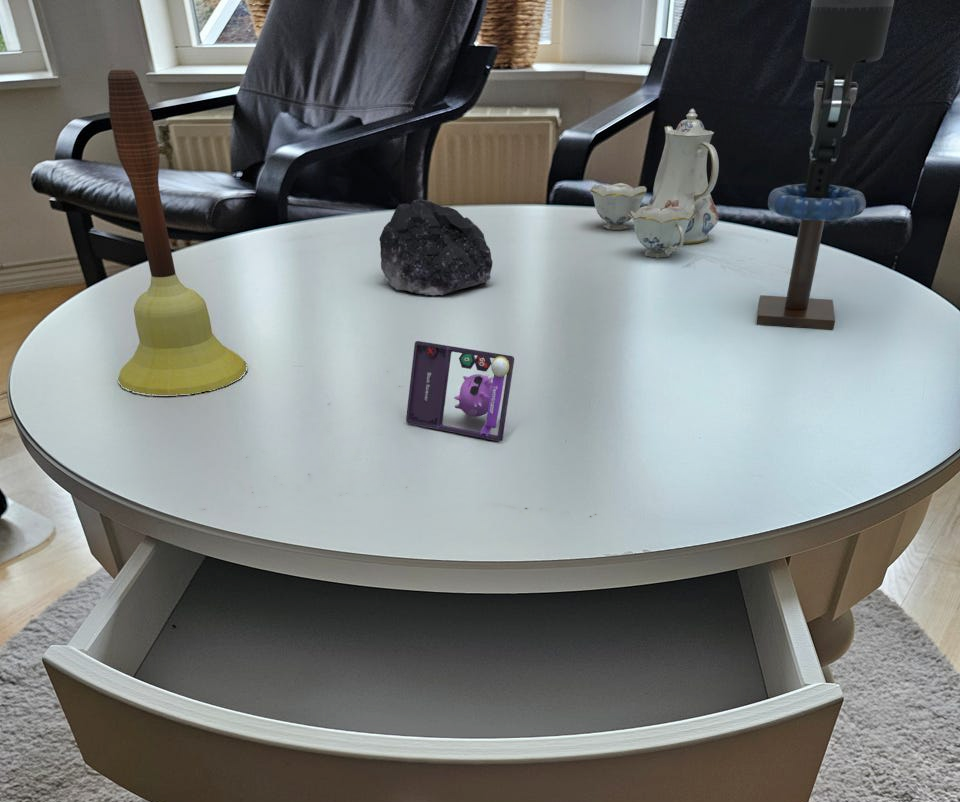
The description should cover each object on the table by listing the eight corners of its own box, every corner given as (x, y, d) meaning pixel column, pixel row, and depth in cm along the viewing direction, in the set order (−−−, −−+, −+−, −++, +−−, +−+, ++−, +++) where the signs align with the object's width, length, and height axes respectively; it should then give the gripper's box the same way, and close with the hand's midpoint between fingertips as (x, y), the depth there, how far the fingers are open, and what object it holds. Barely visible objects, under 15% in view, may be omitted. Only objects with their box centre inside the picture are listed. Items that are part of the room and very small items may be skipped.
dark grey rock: (507, 296, 111) (512, 206, 106) (401, 299, 106) (401, 205, 101) (467, 279, 121) (470, 196, 116) (370, 281, 117) (368, 195, 112)
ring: (859, 204, 97) (864, 184, 96) (865, 224, 90) (870, 202, 89) (767, 200, 99) (770, 180, 98) (765, 220, 92) (769, 198, 91)
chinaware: (571, 233, 141) (566, 112, 131) (669, 214, 144) (671, 93, 134) (651, 278, 120) (652, 137, 109) (764, 254, 123) (775, 115, 112)
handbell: (114, 361, 91) (41, 68, 76) (238, 346, 94) (191, 62, 80) (120, 404, 81) (38, 79, 67) (258, 386, 85) (208, 72, 70)
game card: (410, 340, 74) (509, 355, 71) (440, 343, 79) (534, 358, 76) (401, 422, 77) (496, 441, 73) (430, 421, 81) (521, 439, 78)
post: (830, 308, 103) (853, 203, 96) (833, 329, 97) (857, 218, 90) (758, 303, 105) (775, 199, 98) (756, 324, 98) (774, 214, 92)
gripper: (900, 3, 81) (854, 214, 91) (888, 0, 91) (848, 189, 102) (812, 4, 82) (777, 211, 93) (810, 1, 93) (779, 186, 103)
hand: (814, 198), depth 97 cm, fingers closed on ring, 2 cm apart
